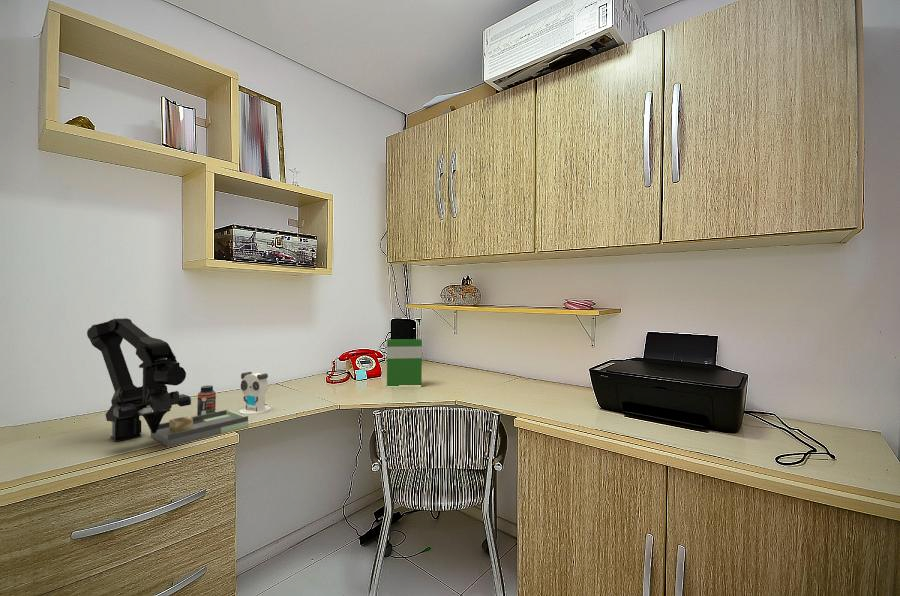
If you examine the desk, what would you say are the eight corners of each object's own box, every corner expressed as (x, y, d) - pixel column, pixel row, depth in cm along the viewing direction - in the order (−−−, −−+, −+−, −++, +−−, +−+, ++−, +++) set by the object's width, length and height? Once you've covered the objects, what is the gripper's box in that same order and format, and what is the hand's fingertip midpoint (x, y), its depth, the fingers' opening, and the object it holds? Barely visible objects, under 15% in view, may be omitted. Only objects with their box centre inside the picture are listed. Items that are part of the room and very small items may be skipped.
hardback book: (420, 384, 211) (420, 339, 211) (421, 387, 204) (421, 340, 204) (387, 384, 209) (387, 339, 209) (386, 388, 201) (387, 340, 201)
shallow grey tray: (168, 446, 120) (168, 435, 120) (150, 436, 128) (150, 425, 128) (248, 426, 139) (248, 416, 139) (227, 418, 148) (227, 409, 148)
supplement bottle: (206, 418, 148) (207, 388, 148) (193, 417, 149) (193, 387, 149) (219, 414, 154) (219, 385, 154) (206, 413, 155) (206, 384, 155)
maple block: (175, 433, 125) (175, 422, 125) (169, 430, 128) (169, 419, 128) (193, 429, 129) (193, 418, 129) (186, 426, 132) (186, 416, 132)
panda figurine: (231, 411, 157) (232, 374, 157) (256, 405, 167) (257, 369, 167) (252, 415, 152) (252, 376, 152) (276, 408, 162) (277, 372, 162)
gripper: (125, 391, 111) (124, 447, 111) (198, 381, 126) (198, 430, 126) (112, 386, 117) (112, 439, 117) (184, 376, 132) (183, 423, 132)
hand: (153, 433), depth 123 cm, fingers closed
